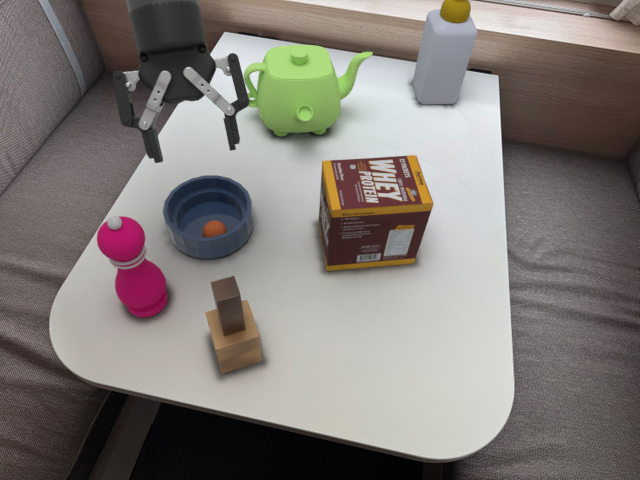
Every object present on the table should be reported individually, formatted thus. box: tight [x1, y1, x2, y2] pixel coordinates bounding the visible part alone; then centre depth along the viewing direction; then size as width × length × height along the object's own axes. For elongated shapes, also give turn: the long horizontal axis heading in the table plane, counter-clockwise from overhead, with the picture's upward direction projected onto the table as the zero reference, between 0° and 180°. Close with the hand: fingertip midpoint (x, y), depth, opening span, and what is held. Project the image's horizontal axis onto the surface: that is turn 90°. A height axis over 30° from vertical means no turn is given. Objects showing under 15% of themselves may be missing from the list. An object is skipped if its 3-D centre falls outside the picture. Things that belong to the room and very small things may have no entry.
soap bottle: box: [411, 0, 478, 105], centre depth 107 cm, size 9×9×25 cm
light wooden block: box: [204, 299, 263, 375], centre depth 74 cm, size 6×6×8 cm
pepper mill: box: [96, 215, 168, 318], centre depth 73 cm, size 7×7×20 cm
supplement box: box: [317, 154, 435, 272], centre depth 84 cm, size 10×15×16 cm
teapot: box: [243, 44, 374, 137], centre depth 102 cm, size 25×22×16 cm
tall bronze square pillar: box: [210, 275, 246, 336], centre depth 67 cm, size 3×3×9 cm
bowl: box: [162, 174, 254, 260], centre depth 89 cm, size 14×14×6 cm
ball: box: [202, 220, 227, 237], centre depth 87 cm, size 4×4×4 cm
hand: (196, 155), depth 60 cm, fingers open, 8 cm apart
